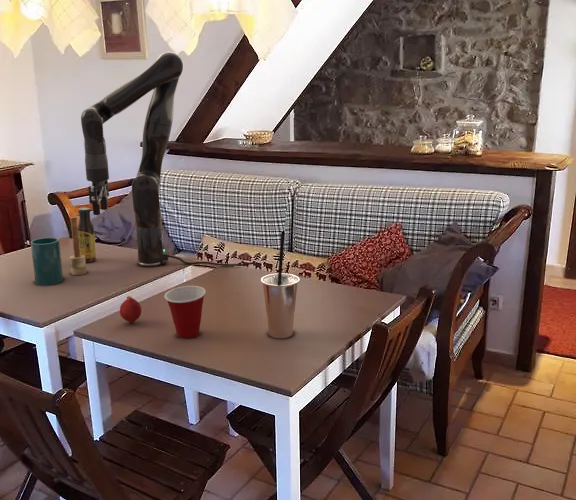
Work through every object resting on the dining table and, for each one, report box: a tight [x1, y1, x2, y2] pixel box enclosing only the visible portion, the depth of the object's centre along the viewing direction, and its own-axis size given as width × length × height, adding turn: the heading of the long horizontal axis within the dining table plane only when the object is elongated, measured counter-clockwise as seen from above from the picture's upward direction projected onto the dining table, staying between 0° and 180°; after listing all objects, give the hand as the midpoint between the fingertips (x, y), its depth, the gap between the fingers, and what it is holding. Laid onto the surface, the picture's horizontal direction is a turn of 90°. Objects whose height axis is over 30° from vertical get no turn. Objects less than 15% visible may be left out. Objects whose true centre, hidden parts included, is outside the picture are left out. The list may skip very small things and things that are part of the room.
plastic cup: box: [163, 285, 206, 339], centre depth 169 cm, size 11×11×12 cm
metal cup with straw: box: [260, 230, 301, 339], centre depth 166 cm, size 11×11×30 cm
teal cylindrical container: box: [30, 237, 64, 286], centre depth 213 cm, size 9×9×14 cm
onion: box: [119, 295, 142, 324], centre depth 178 cm, size 6×6×8 cm
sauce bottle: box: [77, 207, 97, 263], centre depth 235 cm, size 7×6×20 cm
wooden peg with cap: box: [69, 216, 87, 276], centre depth 221 cm, size 5×5×20 cm
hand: (100, 212), depth 225 cm, fingers open, 8 cm apart
